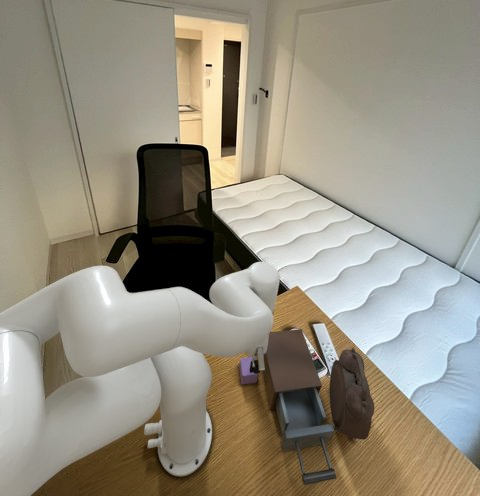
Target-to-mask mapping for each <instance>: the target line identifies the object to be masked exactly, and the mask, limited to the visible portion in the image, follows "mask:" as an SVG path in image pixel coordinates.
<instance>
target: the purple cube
mask: <svg viewBox="0 0 480 496" xmlns="http://www.w3.org/2000/svg"><path fill="white" fill-rule="evenodd" d="M255 360H257V359H256V358H255ZM251 361H252V357H248V356H247V357H240V359H239V366H238V367H239V368H238V369H239V376H240V384H241V385H248V384H256V383H257V381H258V377H259V373H258V374H254V373H250V363H251Z"/></svg>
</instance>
